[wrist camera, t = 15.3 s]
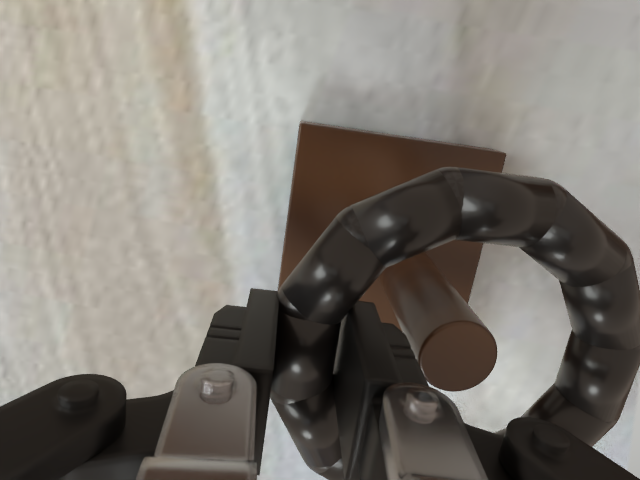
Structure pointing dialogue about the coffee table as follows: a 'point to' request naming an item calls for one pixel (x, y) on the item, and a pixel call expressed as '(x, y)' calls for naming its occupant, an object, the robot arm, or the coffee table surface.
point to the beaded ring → (437, 229)
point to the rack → (411, 274)
